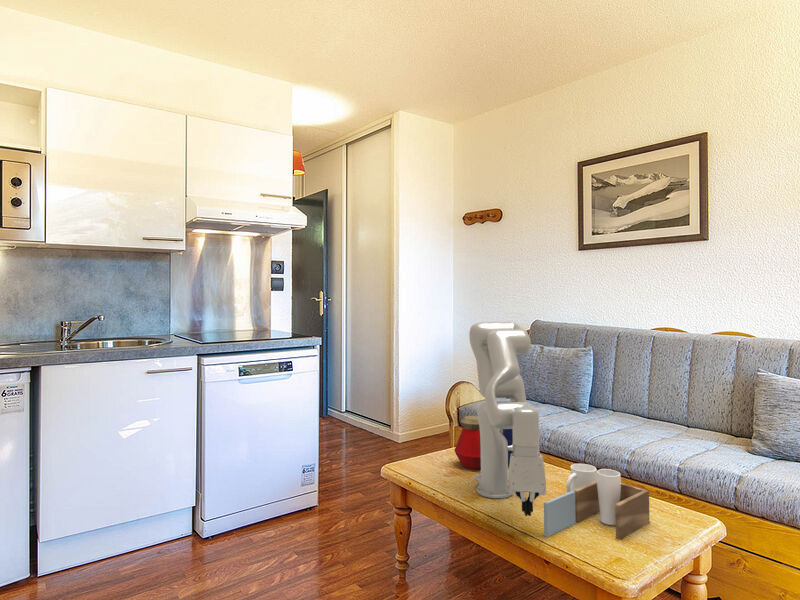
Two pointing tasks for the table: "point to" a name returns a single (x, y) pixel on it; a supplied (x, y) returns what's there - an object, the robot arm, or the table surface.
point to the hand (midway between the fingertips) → (527, 513)
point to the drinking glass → (608, 494)
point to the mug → (581, 476)
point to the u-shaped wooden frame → (627, 512)
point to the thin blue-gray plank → (559, 513)
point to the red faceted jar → (469, 444)
